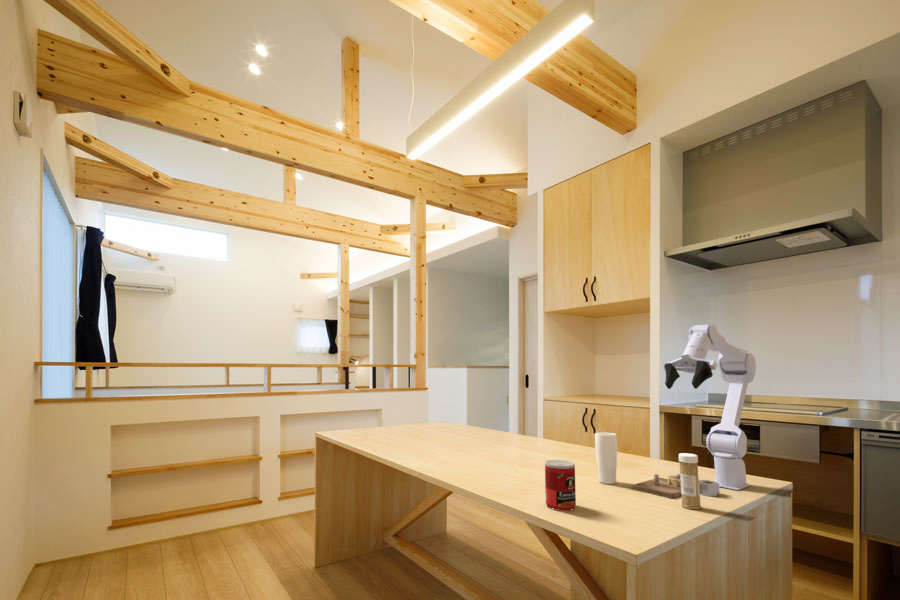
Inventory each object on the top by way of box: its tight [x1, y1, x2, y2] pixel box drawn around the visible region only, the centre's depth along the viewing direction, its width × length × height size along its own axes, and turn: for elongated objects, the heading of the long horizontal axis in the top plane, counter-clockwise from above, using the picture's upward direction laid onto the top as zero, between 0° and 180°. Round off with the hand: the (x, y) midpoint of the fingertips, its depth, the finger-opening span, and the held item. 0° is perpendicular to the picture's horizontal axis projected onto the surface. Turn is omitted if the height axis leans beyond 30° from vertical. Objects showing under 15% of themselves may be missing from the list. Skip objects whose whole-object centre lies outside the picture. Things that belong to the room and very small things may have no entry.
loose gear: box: [699, 479, 721, 497], centre depth 134 cm, size 5×5×3 cm
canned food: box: [544, 459, 577, 511], centre depth 121 cm, size 8×8×11 cm
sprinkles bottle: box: [678, 452, 702, 510], centre depth 121 cm, size 5×5×13 cm
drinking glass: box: [594, 431, 618, 485], centre depth 146 cm, size 7×7×15 cm
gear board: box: [631, 473, 682, 499], centre depth 138 cm, size 16×12×4 cm
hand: (680, 386), depth 130 cm, fingers open, 7 cm apart
